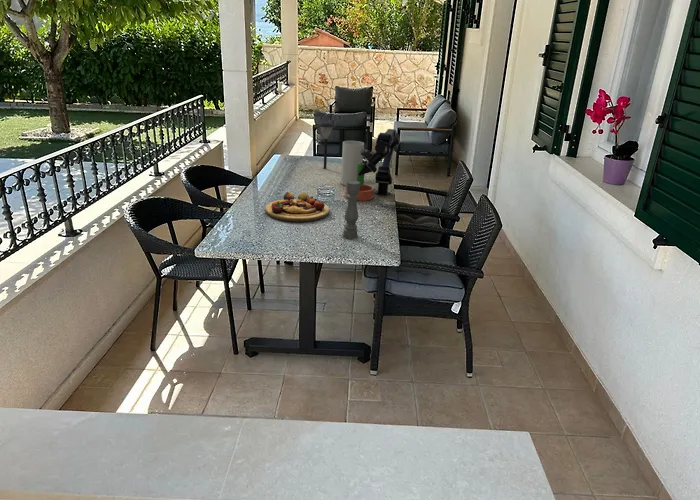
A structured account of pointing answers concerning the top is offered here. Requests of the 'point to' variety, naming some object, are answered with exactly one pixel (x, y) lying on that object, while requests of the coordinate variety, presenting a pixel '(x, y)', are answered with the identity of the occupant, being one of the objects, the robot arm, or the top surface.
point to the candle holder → (351, 210)
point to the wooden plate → (297, 208)
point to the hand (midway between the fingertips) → (358, 174)
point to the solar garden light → (326, 130)
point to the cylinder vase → (350, 160)
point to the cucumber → (361, 177)
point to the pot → (363, 193)
